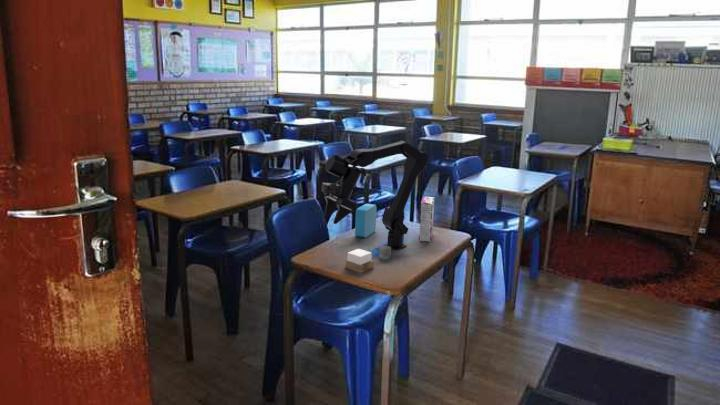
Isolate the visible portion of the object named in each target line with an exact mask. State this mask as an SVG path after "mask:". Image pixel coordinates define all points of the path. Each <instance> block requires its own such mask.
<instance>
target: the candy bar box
mask: <svg viewBox="0 0 720 405" xmlns="http://www.w3.org/2000/svg"><path fill="white" fill-rule="evenodd" d="M434 212H435V197H434V196H423V197H422V199H421V202H420V218H419V219H420V220H419V221H420V222H419V223H420V224H419V225H420V226H419V240H418V241H419V242H424V241H426V242H427V243H430V242H432V238H433V231H434Z"/></svg>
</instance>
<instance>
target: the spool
mask: <svg viewBox="0 0 720 405" xmlns="http://www.w3.org/2000/svg"><path fill="white" fill-rule="evenodd" d="M391 252H392V248H391V247H389V246H385V245H381V246H379V247H378V259H379V260H382V261H389V260H390V259H391V258H392V257H391V255H392V253H391Z"/></svg>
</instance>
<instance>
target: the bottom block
mask: <svg viewBox="0 0 720 405" xmlns="http://www.w3.org/2000/svg"><path fill="white" fill-rule="evenodd" d="M374 264H375V260H372V259H371V261H369V262H367V263H364V264H362V265H359V264H356V263H353V262H350V261H347V260H345V268H346V269H349V270H351V271H354V272H356V273H359V274H362V273H364V272H366V271H368V270H371V269H374Z"/></svg>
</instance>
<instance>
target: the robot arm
mask: <svg viewBox="0 0 720 405" xmlns="http://www.w3.org/2000/svg"><path fill="white" fill-rule="evenodd" d="M399 154H401V155H402V156H403V157H405V158H406V160H405V173H404V175H403V177H402V180H401V181H400V182H401V183H400V184H399V187H398V189H397V193H396V195H395V198H394V200H393V203H392V204H391V205H390V206H389V207H388V206H385V208H384V210H383V213H382V215H381V221H382V224H383V225H384V227H385V229H386V230H387V231H388V232H387V243H385V244H384V246H389V247H391V249H394V250H396V251H397V250H398V251H399V250H400V249H403V248H406V247H407V244H405V243H404V241H405V235H407V234H408V232H409V228H408V227H407V225H405V224H404V220H405V207H406V205H407V203H408V201H409V198H410V196H411V194H412V190H413V188H414V186H415V184H416V180H417V178H418V176H419V174H421V173H422V172H423V171H424V170H425V168H426V166H427V165H428V163H429V160H430V159H429V155H428V154H427V153H426V152H425V151H420V150H419V149H418V148H415V147H414V146H412V145H411V144H410V143H409V142H407V141H404V140H399V141H397V142H393V143H389V144H386V145H381V146H378V147H374V148H356V149H354V150H351V152H350V154H348V155H347V156H344V157H343V158H342V157H340V155H338V154H335V153H334V154H332V156H331V157H329V158H328V160H326V162H325V165H324V171H325V172H327V173H329V174H331V175H333V176H335V177H337V178H340V177H341V179H340V180H337V181H336V182H334V183H333V182H322V183H321V190H320V191H321V192H322V193H323V195H324V196H323V198H324V199H325V202H326V205H325V211H324V218H326V219H327V218H328V217H330V215H331V214H332V213H333V212H334V211H335V209H336V208H337V211H336V214H335V215H334V219H333V224H335V225H337V224H338V223H340V221H342V220H343V219H344V218H346V216H348V215H349V214H351V213H353V212H356V210H357V208H358V204H357V202H355V201H353V200H352V198H350V197H351V196H352V193H353V192H356V191H357V188H355V187H356V185H357V183H358V181H359V179H360V177H361V176H364V177H367V173H366V169H365V168H366V167H367V166H370V165H372V164H374V163H375V162H376V161H378V160H380V159H385V158H389V157H392V156H396V155H399ZM349 165H350V166H349Z"/></svg>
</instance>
